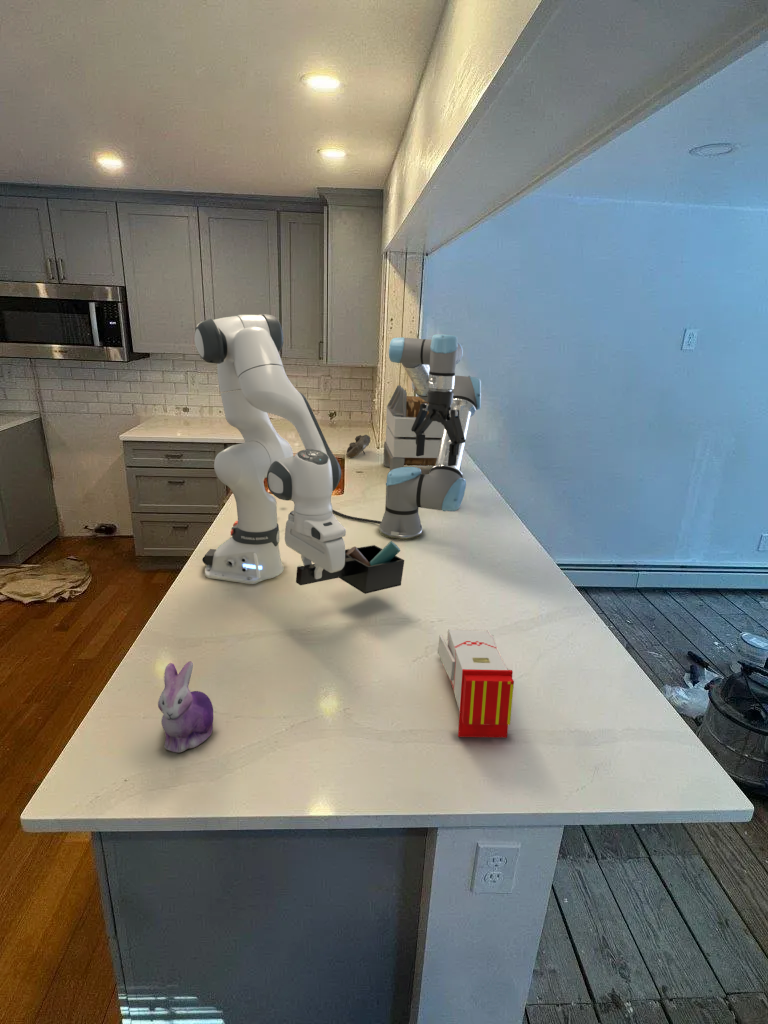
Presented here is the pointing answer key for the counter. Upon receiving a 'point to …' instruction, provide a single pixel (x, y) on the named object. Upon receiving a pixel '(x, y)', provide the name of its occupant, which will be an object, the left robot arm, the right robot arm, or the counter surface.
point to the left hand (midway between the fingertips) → (313, 575)
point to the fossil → (358, 446)
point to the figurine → (184, 711)
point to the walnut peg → (357, 555)
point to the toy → (478, 682)
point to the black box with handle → (359, 572)
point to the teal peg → (386, 554)
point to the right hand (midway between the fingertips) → (435, 460)
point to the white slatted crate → (408, 433)
